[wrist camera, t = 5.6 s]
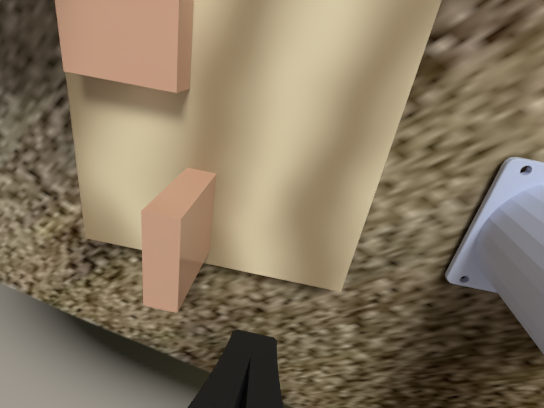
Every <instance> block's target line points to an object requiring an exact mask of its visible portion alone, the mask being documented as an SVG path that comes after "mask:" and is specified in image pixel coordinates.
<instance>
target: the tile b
mask: <svg viewBox="0 0 544 408" xmlns="http://www.w3.org/2000/svg"><path fill="white" fill-rule="evenodd" d="M216 175H217V174H216V173H211V172H206V171H201V170H196V169H192V168H186V169H185V170H184V171H183V172H182V173H181V174H180V175H179V176H178V177H177V178H175V179H174V180H173V181H172V182H171V183H170V184H169V185H168V186H167V187H166V188H165V189H164V190H163V191H162V192H161V193H160V194H158V195H157V196H156V197H155V198H154V199H153V200H152V201H151V202H150V203H149V204H148V205H147V206H146V207H145V208H144V209H143V210H141V227H142V265H143V303H144V306H148V307H153V308H157V309H162V310H166V311H171V312H176V313H178V311H179V309H180V307H181V305H182V303H183V301H184V299H185V297H186V295H187V293H188V291H189V289H190V288H191V286H192V284H193V282H194V280H195V278H196V276H197V274H198V272H199V270H200V268H201V266H202V264H203V262H204V260H205V259H206V257H207V255H208V253H209V251H210V240H211V229H212V218H213V207H214V196H215V185H216Z"/></svg>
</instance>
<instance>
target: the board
mask: <svg viewBox="0 0 544 408" xmlns="http://www.w3.org/2000/svg"><path fill="white" fill-rule="evenodd" d="M441 1H442V0H194V2H193V25H192V48H191V70H190V89H187V90H184V91H181V92H178V93H174V92H169V91H163V90H158V89H153V88H148V87H143V86H138V85H132V84H127V83H122V82H117V81H112V80H106V79H101V78H96V77H91V76H86V75H81V74H75V73H70V72H65V73H66V82H67V90H68V98H69V106H70V114H71V122H72V131H73V139H74V147H75V155H76V163H77V172H78V180H79V188H80V196H81V204H82V212H83V221H84V229H85V237H86V238H87V239H92V240H97V241H101V242H106V243H111V244H116V245H120V246H125V247H130V248H135V249H139V250H142V227H141V210H143V209H144V208H145V207H146V206H147V205H148V204H149V203H150V202H151V201H152V200H153V199H154V198H155V197H156V196H157V195H158V194H160V193H161V192H162V191H163V190H164V189H165V188H166V187H167V186H168V185H169V184H170V183H171V182H172V181H173V180H174V179H175V178H177V177H178V176H179V175H180V174H181V173H182V172H183V171H184V170H185V169H186V168H192V169H196V170H201V171H206V172H211V173H216V174H217V175H216V185H215V196H214V207H213V218H212V229H211V240H210V251H209V253H208V255H207V257H206V259H205V260H204V262H203V263H206V264H211V265H215V266H220V267H225V268H230V269H234V270H239V271H244V272H249V273H253V274H258V275H263V276H268V277H272V278H277V279H282V280H287V281H291V282H296V283H301V284H306V285H310V286H315V287H320V288H325V289H329V290H334V291H339V292H341V290H342V287H343V284H344V281H345V278H346V276H347V273H348V270H349V267H350V264H351V261H352V258H353V255H354V252H355V250H356V247H357V244H358V241H359V238H360V235H361V232H362V229H363V226H364V223H365V221H366V218H367V215H368V212H369V209H370V206H371V203H372V200H373V197H374V195H375V192H376V189H377V186H378V183H379V180H380V177H381V174H382V171H383V168H384V166H385V163H386V160H387V157H388V154H389V151H390V148H391V145H392V142H393V140H394V137H395V134H396V131H397V128H398V125H399V122H400V119H401V116H402V113H403V111H404V108H405V105H406V102H407V99H408V96H409V93H410V90H411V87H412V85H413V82H414V79H415V76H416V73H417V70H418V67H419V64H420V61H421V58H422V56H423V53H424V50H425V47H426V44H427V41H428V38H429V35H430V32H431V30H432V27H433V24H434V21H435V18H436V15H437V12H438V9H439V6H440V3H441Z"/></svg>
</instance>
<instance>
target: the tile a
mask: <svg viewBox="0 0 544 408" xmlns="http://www.w3.org/2000/svg"><path fill="white" fill-rule="evenodd" d="M193 2H194V0H55V6H56V14H57V22H58V30H59V38H60V46H61V54H62V62H63V70H64V71H65V72H70V73H75V74H81V75H86V76H91V77H96V78H101V79H106V80H112V81H117V82H122V83H127V84H132V85H138V86H143V87H148V88H153V89H158V90H163V91H169V92H174V93H178V92H181V91H184V90H187V89H190V70H191V48H192V25H193Z"/></svg>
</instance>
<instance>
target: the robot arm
mask: <svg viewBox="0 0 544 408" xmlns="http://www.w3.org/2000/svg"><path fill="white" fill-rule="evenodd" d="M524 166H527V169H526V170H525V171H524V172H522V173H520V170H521V169H522V167H524ZM463 276H466V277H465V278H463V279H460V278H461V277H463ZM445 277H446V279H447V281H448V282H449V283H452V284H456V285H461V286H466V287H471V288H476V289H480V290H485V291H490V292H495V293H498V294H499V295H500V297H501V298H502V299H503V301H504V302H505V303H506V305H507V306H508V307H509V309H510V310H511V312H512V313H513V314H514V316H515V317H516V318H517V320H518V321H519V322H520V324H521V325H522V326H523V328H524V329H525V330H526V332H527V333H528V334H529V336H530V337H531V338H532V340H533V341H534V342H535V344H536V345H537V346H538V348H539V349H540V350H541V352H542V353H543V354H544V162H540V161H535V160H530V159H525V158H520V157H511V158H508V159H507V160H505V161H504V163H503V164H502V166H501V168H500V169H499V171H498V173H497V175H496V177H495V179H494V181H493V183H492V185H491V187H490V189H489V190H488V192H487V194H486V196H485V198H484V200H483V202H482V204H481V206H480V208H479V210H478V211H477V213H476V215H475V217H474V219H473V221H472V223H471V225H470V227H469V229H468V231H467V233H466V234H465V236H464V238H463V240H462V242H461V244H460V246H459V248H458V250H457V252H456V254H455V255H454V257H453V259H452V261H451V263H450V265H449V267H448V269H447V271H446V273H445ZM188 408H284V407H283V402H282V396H281V390H280V383H279V374H278V365H277V341H276V339H275V338H274V337H269V336H265V335H260V334H255V333H251V332H246V331H242V330H235V331H233V332H232V335H231V337H230V340H229V342H228V344H227V346H226V348H225V350H224V352H223V354H222V355H221V357H220V359H219V361H218V362H217V364H216V366H215V368H214V369H213V371H212V372H211V374H210V375H209V377H208V379H207V380H206V382H205V383H204V385H203V387H202V388H201V389H200V391H199V393H198V394H197V395H196V397H195V398H194V400H193V401H192V402H191V404H190V405H189V406H188Z"/></svg>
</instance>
